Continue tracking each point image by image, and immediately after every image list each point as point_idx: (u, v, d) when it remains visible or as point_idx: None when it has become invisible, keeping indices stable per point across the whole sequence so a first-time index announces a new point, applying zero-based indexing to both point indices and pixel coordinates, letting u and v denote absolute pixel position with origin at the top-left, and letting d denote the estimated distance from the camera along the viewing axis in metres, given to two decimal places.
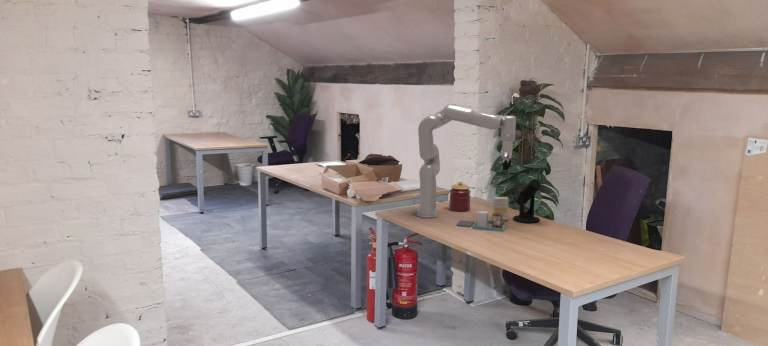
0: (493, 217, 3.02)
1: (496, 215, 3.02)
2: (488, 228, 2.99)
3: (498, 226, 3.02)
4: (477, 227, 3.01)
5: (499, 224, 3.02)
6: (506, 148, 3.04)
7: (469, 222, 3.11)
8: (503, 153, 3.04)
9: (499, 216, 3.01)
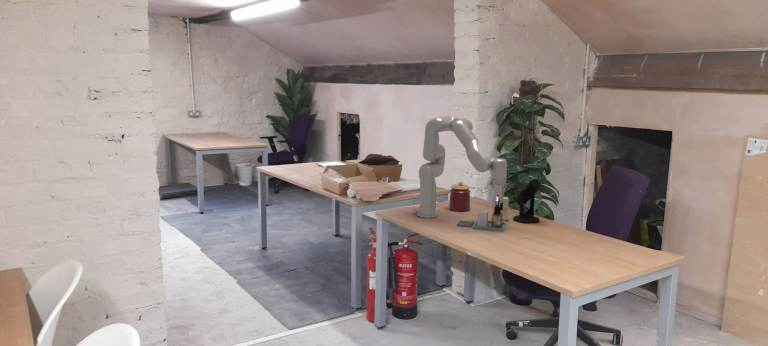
0: (493, 217, 3.02)
1: (496, 215, 3.02)
2: (488, 228, 2.99)
3: (498, 226, 3.02)
4: (477, 227, 3.01)
5: (499, 224, 3.02)
6: (497, 192, 2.97)
7: (469, 222, 3.11)
8: (494, 197, 2.98)
9: (499, 216, 3.01)
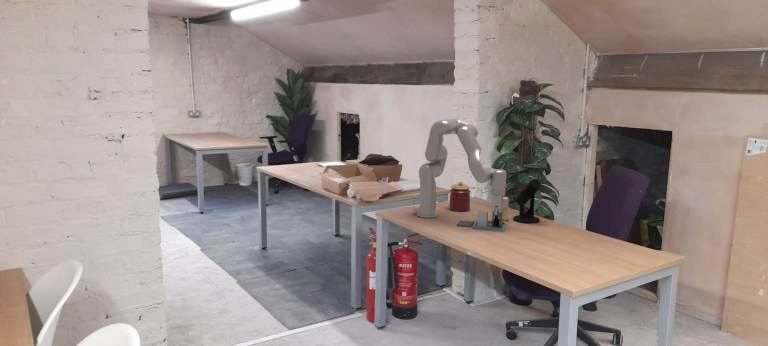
0: (493, 217, 3.02)
1: None
2: (488, 228, 2.99)
3: (498, 226, 3.02)
4: (477, 227, 3.01)
5: (499, 224, 3.02)
6: (496, 203, 2.98)
7: (469, 222, 3.11)
8: (493, 210, 2.99)
9: (499, 216, 3.01)
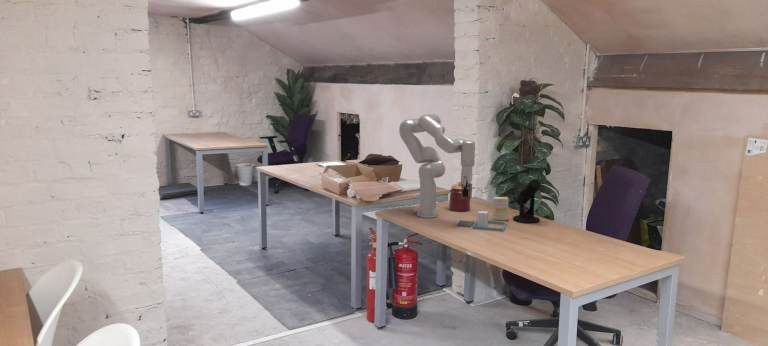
0: (462, 187, 3.05)
1: None
2: (488, 228, 2.99)
3: None
4: (477, 227, 3.01)
5: None
6: (465, 173, 3.01)
7: (469, 222, 3.11)
8: (462, 180, 3.02)
9: (468, 186, 3.04)
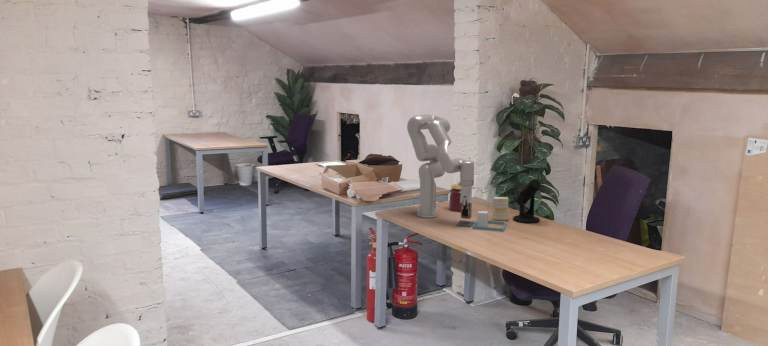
0: (462, 207, 3.07)
1: None
2: (488, 228, 2.99)
3: (467, 216, 3.07)
4: (477, 227, 3.01)
5: (468, 214, 3.07)
6: (464, 193, 3.03)
7: (469, 222, 3.11)
8: (462, 200, 3.04)
9: (468, 206, 3.06)
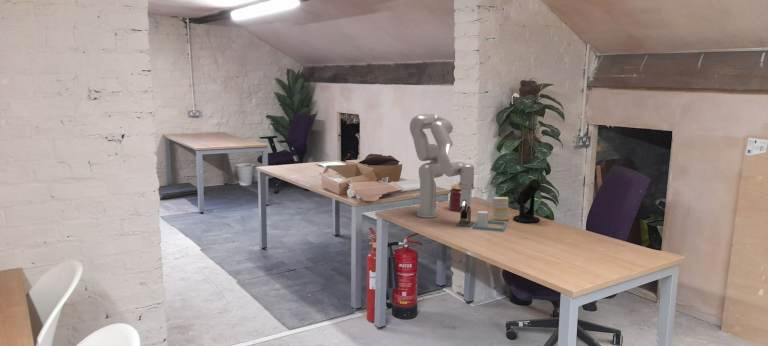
0: None
1: None
2: (488, 228, 2.99)
3: (466, 221, 3.08)
4: (477, 227, 3.01)
5: (467, 220, 3.07)
6: (464, 197, 3.03)
7: None
8: (461, 202, 3.04)
9: (467, 212, 3.07)
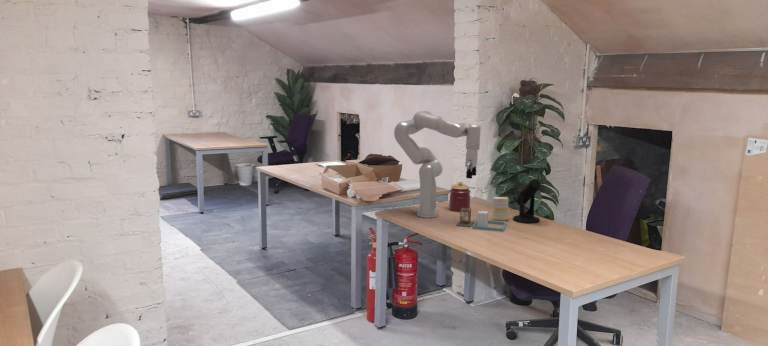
0: (461, 213, 3.08)
1: (464, 211, 3.07)
2: (488, 228, 2.99)
3: (466, 221, 3.08)
4: (477, 227, 3.01)
5: (467, 220, 3.07)
6: (470, 157, 3.06)
7: None
8: (467, 161, 3.06)
9: (467, 212, 3.07)
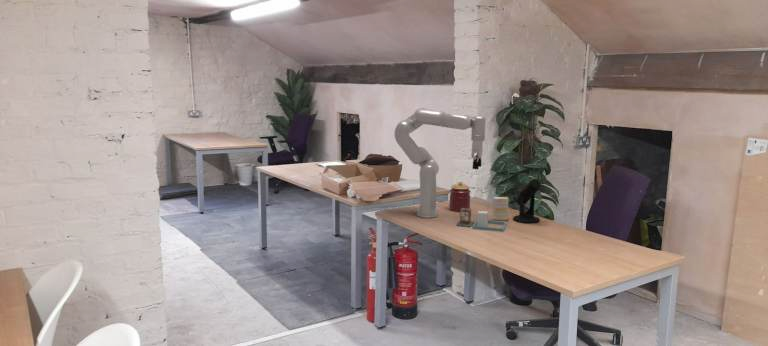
0: (461, 213, 3.08)
1: (464, 211, 3.07)
2: (488, 228, 2.99)
3: (466, 221, 3.08)
4: (477, 227, 3.01)
5: (467, 220, 3.07)
6: (476, 148, 3.11)
7: None
8: (473, 153, 3.12)
9: (467, 212, 3.07)
